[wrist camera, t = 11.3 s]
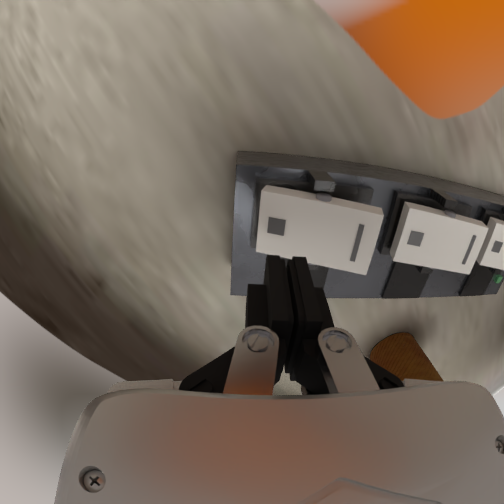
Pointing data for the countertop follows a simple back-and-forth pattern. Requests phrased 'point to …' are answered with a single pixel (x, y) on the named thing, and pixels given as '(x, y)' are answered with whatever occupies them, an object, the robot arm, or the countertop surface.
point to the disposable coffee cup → (404, 358)
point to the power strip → (391, 201)
